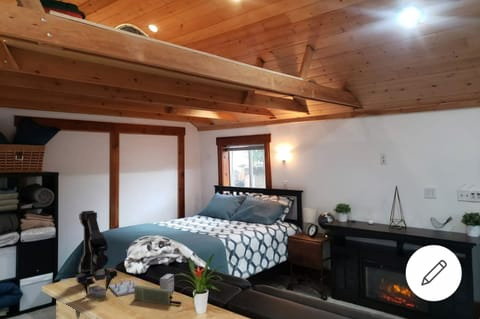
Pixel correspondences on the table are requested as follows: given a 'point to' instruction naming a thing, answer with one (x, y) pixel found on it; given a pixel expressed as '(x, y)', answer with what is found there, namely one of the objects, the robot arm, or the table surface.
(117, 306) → the table surface
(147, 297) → the handheld radio
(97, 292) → the block
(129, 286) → the pin cradle
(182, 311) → the table surface
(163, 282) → the medicine box
